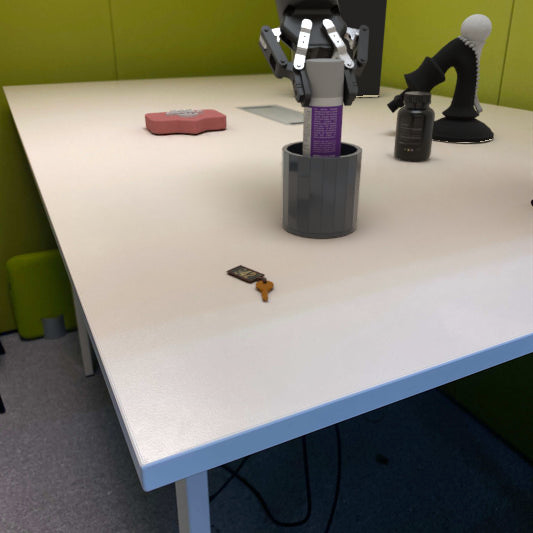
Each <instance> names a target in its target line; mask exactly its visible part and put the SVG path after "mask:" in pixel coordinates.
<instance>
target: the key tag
mask: <svg viewBox="0 0 533 533" xmlns="http://www.w3.org/2000/svg"><path fill="white" fill-rule="evenodd" d="M226 273H227V274H230V275H232V276H233V277H237V278H238V279H241V280H243V281H246V282H248V283H253V282H255V281H256V283H255V288H256V289H258V290H259V292H260V293H261V297H262V298H261V299H262V300H264V301H266V302H267V301H268V300H269V292H270V291H271V289H273V288H274V287H275V284H274V282H273V281H270V280H267V279H268V278H266V277H265V276H266V275H265V274H264V273H262V272H259V271H258V270H254V269H252V268H249V267H247V266H244V265H242V264H240V265H237V266H234V267H232V268H230V269H228V270H226Z"/></svg>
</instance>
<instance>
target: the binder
mask: <svg viewBox="0 0 533 533" xmlns="http://www.w3.org/2000/svg"><path fill="white" fill-rule="evenodd" d="M387 3H388V0H338V4H339V9H340V16H341V18H342V20H343V21H344V22H345V23H346V25H347V27H349V28H354V29H359V28H360V26H361V25H366V26H368V28H369V43H368V61H367V63H366V65H365V67H364V69H363V71H362V74H361V76H360V77H355V78H356V82H357V86H358V94H357V96H363V95H379V96H380V93H381V92H380V91H381V81H382V80H381V78H382V67H383V55H384V43H385V42H384V41H385V31H386V30H385V29H386V20H387V19H386V17H387V5H388V4H387ZM343 42H344V43H345V45H346V47H347V53H348V54H349V56H350V58H351V59H352V61H353V49H351V48H350V44H349V41H348V40H347V39H346V38H344V39H343ZM303 70H306V60H305V63H304V67H303Z"/></svg>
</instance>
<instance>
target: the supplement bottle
mask: <svg viewBox="0 0 533 533" xmlns="http://www.w3.org/2000/svg"><path fill="white" fill-rule="evenodd" d="M403 103H404V104H405V105H404V106H403V107H402V108H399V110H398V111H397V114H396V122H395V123H396V124H395V136H394V149H393V157H394V158H395V159H397V160H399V161H403V162H409V163H411V162H412V163H413V162H414V163H415V162H416V163H419V162H424V161H425V162H426V161H427V160H429V159H430V158H431V154H432V146H433V145H432V144H433V140H432V138H433V129H434V121H436V113H435V111H434V109H433V108H432V107H430V105H431V104H432V92H430V93H429V92H420V91H413V92H406V93H405V95H404V102H403Z"/></svg>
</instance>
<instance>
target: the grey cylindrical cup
mask: <svg viewBox="0 0 533 533" xmlns="http://www.w3.org/2000/svg"><path fill="white" fill-rule="evenodd" d="M362 159H363V148H361V146H359V145H357V144H355V143H350V142H345V141H341V152H340V156H337V157H312V156H304V155H303V140H301V141H295V142H290V143H287V144H284V145H283V146H282V148H281V189H280V190H281V193H280V195H281V197H280V198H281V200H280V201H281V203H280V204H281V206H280V209H281V210H280V211H281V212H280V213H281V214H280V221H281V227H282V229H283V230H284V231H286V232H287V233H290V234H292V235H294V236H299V237H304V238H310V239H335V238H341V237H345V236H347V235H350V234H352V233H354V232H355V231H356V230H357V227H358V220H359V219H358V216H359V204H360V190H361V189H360V188H361V173H362V162H363V161H362Z"/></svg>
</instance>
